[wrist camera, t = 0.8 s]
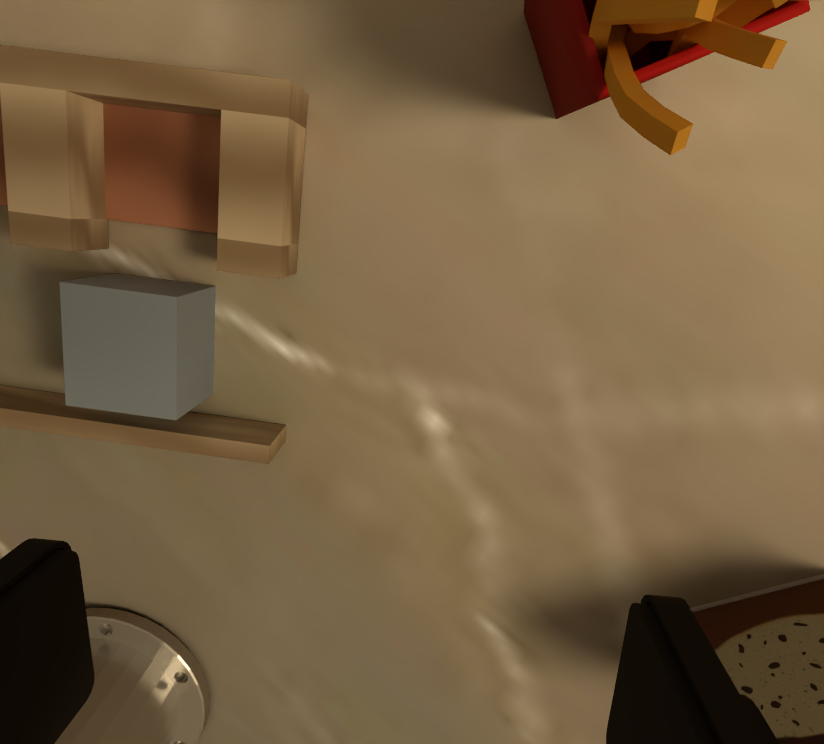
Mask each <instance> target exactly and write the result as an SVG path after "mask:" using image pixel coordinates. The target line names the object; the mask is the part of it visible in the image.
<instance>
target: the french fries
mask: <svg viewBox="0 0 824 744" xmlns="http://www.w3.org/2000/svg"><path fill="white" fill-rule="evenodd" d="M809 10H810V6H809V1H808V0H525V2H524V15H525V18H526V21H527V24H528V28H529V31H530V34H531V37H532V41H533V44H534V47H535V50H536V54H537V57H538V60H539V63H540V67H541V70H542V73H543V76H544V80H545V83H546V86H547V89H548V93H549V96H550V99H551V102H552V106H553V109H554V112H555V115H556V119H558V118H560V117H562V116H565V115H567V114H570V113H572V112H574V111H577V110H579V109H581V108H584V107H586V106H589V105H591V104H593V103H596V102H598V101H600V100H603V99H605V98H608V97H611V99H612V101H613V103H614V105H615V107H616V109H617V111H618V113H619V115H620V117H621V118H622V119H623V120H624V121H626V122H627V123H628V124H629V125H630V126H631V127H632V128H634V129H635V130H636V131H637V132H638V133H639V134H641V135H642V136H643V137H644V138H646V139H647V140H649V141H650V142H651V143H653V144H654V145H656V146H657V147H659V148H660V149H662V150H663V151H665V152H666V153H668V154H669V155H672V154H674V153H676V152H677V151H679V150H681V149H683V148H685V146H686V143H687V140H688V137H689V134H690V131H691V128H692V125H693V124H692V123H691V122H689V121H687V120H686V119H684V118H682V117H681V116H679V115H677V114H675V113H674V112H672V111H670V110H669V109H667V108H665V107H664V106H663V105H661V104H660V103H659V102H658V101H656V100H655V99H654V98H653V97H652V96H650V95H649V94H648V93H647V92H646V91H644V89H643V87H642V86H641V83H643V82H646V81H648V80H650V79H653V78H655V77H658V76H660V75H662V74H665V73H667V72H669V71H671V70H674V69H676V68H678V67H681V66H683V65H685V64H688V63H690V62H692V61H695V60H697V59H699V58H702V57H704V56H706V55H709V54H711V53H713V52H717V53H719V54H722V55H725V56H728V57H730V58H733V59H736V60H739V61H742V62H745V63H748V64H751V65H755V66H758V67H761V68H767V69H773V68H774V66H775V64H776V62H777V60H778V58H779V56H780V54H781V52H782V50H783V48H784V47H785V45H786V43H787V41H784V40H780V39H777V38H773V37H769V36H766V35H762V34H758V33H760V32H762V31H764V30H767V29H769V28H771V27H774V26H776V25H778V24H780V23H783V22H785V21H787V20H790V19H792V18H794V17H797V16H799V15H801V14H804V13H806V12H808V11H809Z"/></svg>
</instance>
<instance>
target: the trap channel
mask: <svg viewBox="0 0 824 744" xmlns="http://www.w3.org/2000/svg"><path fill="white" fill-rule="evenodd" d="M307 103H308V95H307V94H306V93H305V92H304V91H303V90H302V89H300V88H299V87H298V86H297V85H296V84H295V83H294V82H292V81H291V80H284V79H276V78H268V77H260V76H251V75H243V74H235V73H226V72H218V71H210V70H202V69H193V68H185V67H177V66H168V65H160V64H152V63H144V62H135V61H127V60H119V59H110V58H102V57H94V56H86V55H77V54H69V53H61V52H52V51H44V50H36V49H28V48H19V47H11V46H3V45H0V205H2V206H8V215H9V230H10V244H18V245H26V246H33V247H41V248H48V249H56V250H64V251H71V252H73V251H84V250H96V249H107V248H109V240H108V219H110V220H118V221H125V222H133V223H141V224H148V225H156V226H164V227H172V228H179V229H187V230H195V231H203V232H210V233H218V241H217V271H223V272H231V273H238V274H246V275H254V276H261V277H269V278H276V279H281V278H283V277H286V276H289V275H292V274H295V273H296V269H297V254H298V238H299V223H300V208H301V193H302V178H303V163H304V148H305V133H306V118H307ZM0 426H5V427H12V428H19V429H26V430H33V431H40V432H47V433H54V434H61V435H68V436H75V437H82V438H89V439H96V440H104V441H111V442H118V443H125V444H132V445H139V446H146V447H153V448H160V449H167V450H174V451H181V452H188V453H195V454H202V455H209V456H216V457H224V458H231V459H238V460H245V461H252V462H259V463H266V464H269V463H270V461H271V460H272V459H273V457H274V456H275V455H276V453H277V452H278V450H279V449H280V448H281V446H282V445H283V444H284V442H285V434H286V425H281V424H274V423H267V422H260V421H253V420H245V419H238V418H231V417H224V416H217V415H210V414H202V413H195V412H187V413H186V414H184V415H183V416H182V417H180V418H179V419H178V420H169V419H162V418H155V417H148V416H140V415H133V414H126V413H118V412H111V411H104V410H96V409H89V408H82V407H74V406H67V405H66V402H65V394H59V393H52V392H45V391H37V390H30V389H23V388H16V387H9V386H2V385H0Z"/></svg>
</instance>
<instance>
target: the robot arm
mask: <svg viewBox="0 0 824 744" xmlns="http://www.w3.org/2000/svg"><path fill="white" fill-rule="evenodd" d="M209 708H210V695H209V690H208V685H207V681H206V679H205V676H204V674H203V672H202V669H201V667H200V665H199V664H198V662H197V661H196V659H195V658H194V656H193V655H192V653H191V652H190V651H189V650H188V649H187V648H186V647H185V646H184V645H183V644H182V642H181V641H180V640H179V639H178V638H176V637H175V636H174V635H172V634H171V633H170V632H168V631H167V630H166V629H164V628H163V627H161V626H160V625H158V624H156V623H154V622H152V621H150V620H148V619H147V618H144V617H141V616H138V615H136V614H133V613H130V612H126V611H121V610H116V609H111V608H86V607H85V600H84V592H83V585H82V577H81V570H80V562H79V557H78V555H77V553H76V552H74V551H72V550H71V547H70V545H69V544H68V543H67V542H64V541H57V540H46V539H35V538H33V539H28V540H26V541H24V542H22V543H21V544H20V545H19V546H17V547H16V548H15V549H13V550H12V551H11V552H9V553H8V554H7V555H6V556H4V557H3V558H2V559H0V744H196V743H197V742H198V740H199V738H200V736H201V734H202V732H203V730H204V728H205V726H206V722H207V719H208V715H209ZM606 744H780V743H779V742H778V740H777V738H776V737H775V735H774V733H773V732H772V730H771V728H770V727H769V725H768V723H767V722H766V720H765V718H764V717H763V715H762V713H761V712H760V710H759V709H758V707H757V706H756V705H755V703H754V702H753V701H752V699H750V698H749V697H747V696H746V695H744V694H740V693H739V692H738V690H737V688H736V687H735V685H734V683H733V681H732V680H731V678H730V676H729V675H728V673H727V671H726V669H725V668H724V666H723V664H722V662H721V661H720V659H719V657H718V656H717V654H716V652H715V650H714V649H713V647H712V645H711V644H710V642H709V640H708V638H707V637H706V635H705V633H704V631H703V630H702V628H701V626H700V625H699V623H698V621H697V619H696V618H695V616H694V614H693V612H692V611H691V609H690V607H689V606H688V604H687V603H686V601H685V600H684V599H682V598H677V597H666V596H655V595H645V596H644V597H643V599H642V601H641V604H639V603H633V604H632V605H631V606H630V610H629V615H628V620H627V625H626V631H625V636H624V641H623V647H622V652H621V657H620V663H619V668H618V673H617V679H616V684H615V689H614V695H613V700H612V705H611V710H610V716H609V721H608V726H607V733H606Z"/></svg>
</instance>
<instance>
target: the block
mask: <svg viewBox="0 0 824 744" xmlns="http://www.w3.org/2000/svg"><path fill="white" fill-rule="evenodd" d="M59 284H60V303H61V323H62V343H63V363H64V382H65V402H66V405H67V406H74V407H82V408H89V409H96V410H104V411H111V412H118V413H126V414H133V415H140V416H148V417H155V418H162V419H169V420H178V419H179V418H180V417H182V416H183V415H184V414H186V413H187V412H188V411H190V410H191V409H192V408H194V407H195V406H197V405H198V404H199V403H201V402H202V401H203V400H205V399H206V398H207V397H209V396H210V395H211V394H213V370H214V329H215V288H216V286H212V285H204V284H196V283H188V282H180V281H173V280H165V279H157V278H149V277H142V276H134V275H126V274H118V273H111V274H105V275H99V276H93V277H87V278H80V279H74V280H68V281H62V282H59Z"/></svg>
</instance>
